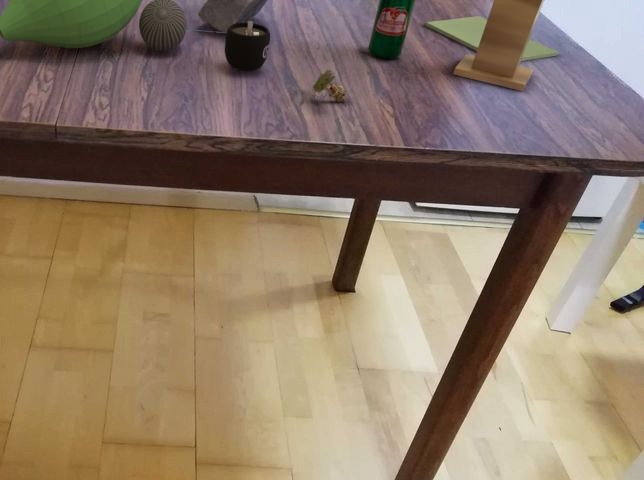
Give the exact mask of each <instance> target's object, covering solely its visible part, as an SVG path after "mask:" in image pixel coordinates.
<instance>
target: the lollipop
mask: <svg viewBox="0 0 644 480" xmlns="http://www.w3.org/2000/svg"><path fill="white" fill-rule="evenodd" d="M138 29H139V33H140V36H141V39H142V41H143V42H144V43H145V45H146V46H148V47H149V48H150V49H152V50H154V51H156V52H169V51H172V50H174V49H175V48H177V47H178V46H180V44H181V43H182V42H183V40H184V38H185V36H186V32H189V31H191V29H190V28H188V27H187V18H186V15H185V13H184V10H183V8H182V7H181V6H180V5H178V3H176V2H175V1H173V0H152V1H150V2H149V3H148V4H146V6H145V7H144V8H143V9H142V11H141V13H140V16H139V21H138ZM194 31H195V32H202V30H201V29H194ZM205 32H206V33H207V32H208V33H213V31H211V30H205ZM217 33H219V34H225V32H221V31H217Z"/></svg>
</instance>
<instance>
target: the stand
mask: <svg viewBox="0 0 644 480" xmlns="http://www.w3.org/2000/svg"><path fill="white" fill-rule="evenodd" d="M544 2H545V0H493V2H492V4H491V5H492V6H491V8H490V11H489V14H488V17H487V23H486V26H485V29H484V31H483V34H482V37H481V40H480V43H479V46H478V49H477V51H475V55H471V54H465V55H464V56H463V58H462V59H461V60H460V61H459V62H458V63H457V65H456V66H455V67H454V69H453V75H455V76H459V77H462V78H467V79H471V80H474V81H479V82H483V83H487V84H491V85H495V86H499V87H503V88H507V89H512V90H515V91H519V92H523V91H524V89H525V87H526V85H527V84H528V81H529V80H530V78H531V76H532V74H533V71H534V70H533V69H531V68H527V67H523V66H520V64H521V62H522V61H521V60H522V57H523V54H524V52H525V49H526V47H527V44H528V41H529V39H531V36H532V34H533V31H534V28H535V26H536V23H537V21H538V17H539V15H540V13H541V10H542V8H543V5H544Z"/></svg>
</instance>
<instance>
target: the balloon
mask: <svg viewBox="0 0 644 480" xmlns="http://www.w3.org/2000/svg"><path fill="white" fill-rule="evenodd" d="M142 2H143V0H9V2H8V4H7V5H6V7H5V9H4V10H3V12H2V14H1V15H0V37H1V39H2V40H3V41H12V42H13V41H14V42H29V43H37V44H38V43H39V44H42V45H46V46H52V47H59V48H64V49H83V48H88V47H92V46H96V45H99V44H101V43H104V42H106V41H108V40H110V39H111V38H113V37H114V36H116V35H118V34H119V33H120V32H122V30H124V29H125V27H127V25H128V24H129V23H130V22H131V21H132V20H133V18H134V17H135V15H136V14H137V12H138V10H139V9H140V7H141V4H142Z"/></svg>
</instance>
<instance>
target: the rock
mask: <svg viewBox="0 0 644 480" xmlns="http://www.w3.org/2000/svg"><path fill="white" fill-rule="evenodd" d="M267 2H268V0H206V2H205V3H204V4H203V5H202V7H201V8H200V10H199V12H198V14H197V15H198V16H199V18H200V20H201V21H202V22H205V23H207V24H210V26H211V27H213V28H215V29H216V30H217V31H218V32H224V34H226V33H227V30H228V28H229V26H231V25H232V24H235V23H248V21H251V20H252V19H253V18H254V17H256V16H257V15H258V14H259V12H261V10H262V9H263V8H264V6H265V5H266V4H267Z"/></svg>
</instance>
